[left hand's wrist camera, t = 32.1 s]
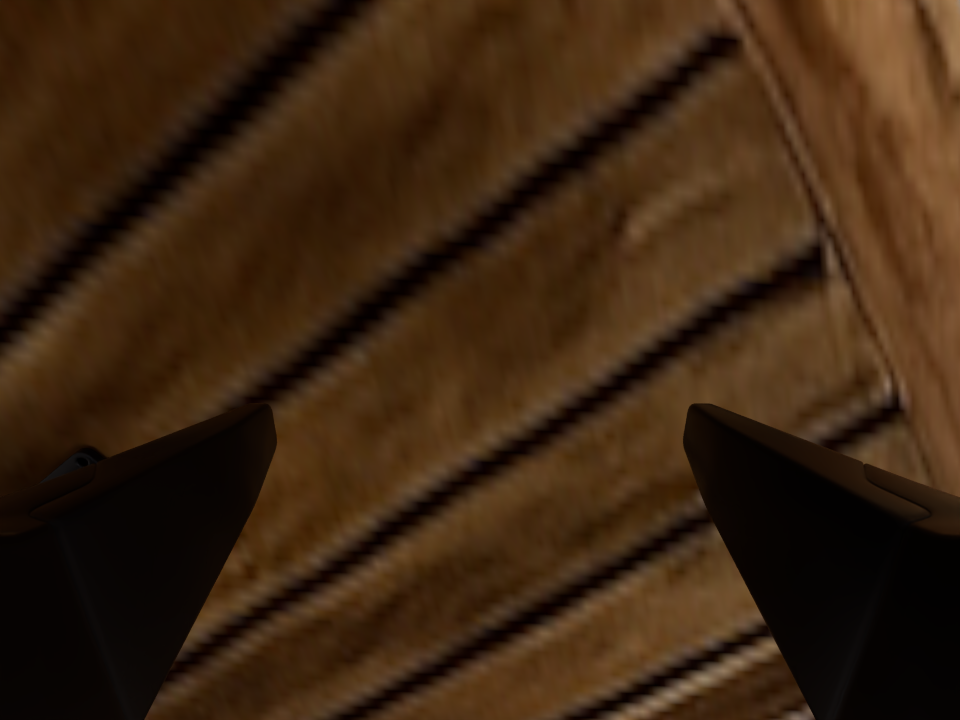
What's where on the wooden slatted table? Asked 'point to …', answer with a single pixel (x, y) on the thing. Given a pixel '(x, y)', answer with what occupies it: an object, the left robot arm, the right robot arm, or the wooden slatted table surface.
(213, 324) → the wooden slatted table surface
